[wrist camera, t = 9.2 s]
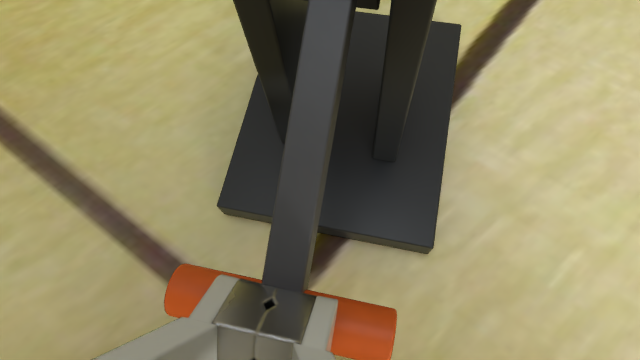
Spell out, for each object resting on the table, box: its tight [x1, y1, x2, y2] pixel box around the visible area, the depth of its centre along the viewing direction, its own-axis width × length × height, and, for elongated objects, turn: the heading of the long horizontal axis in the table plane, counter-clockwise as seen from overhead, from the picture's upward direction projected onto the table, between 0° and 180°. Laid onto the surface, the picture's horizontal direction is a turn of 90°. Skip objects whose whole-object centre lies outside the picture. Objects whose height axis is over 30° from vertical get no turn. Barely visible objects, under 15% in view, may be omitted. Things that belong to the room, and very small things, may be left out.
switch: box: [164, 0, 397, 360], centre depth 11 cm, size 12×6×2 cm, turn 168°
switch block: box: [217, 0, 461, 254], centre depth 15 cm, size 11×9×12 cm
